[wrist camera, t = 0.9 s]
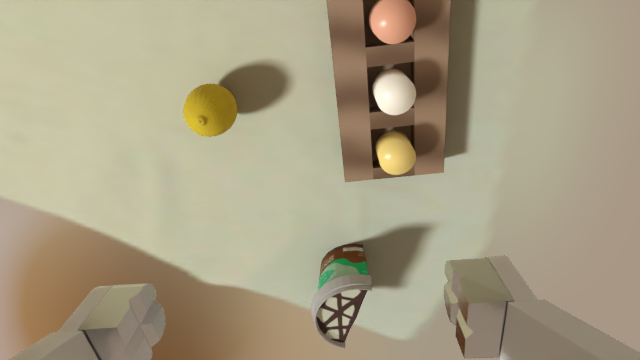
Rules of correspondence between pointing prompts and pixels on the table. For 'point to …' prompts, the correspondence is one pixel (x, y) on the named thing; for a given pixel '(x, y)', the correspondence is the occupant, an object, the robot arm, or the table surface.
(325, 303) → the food container
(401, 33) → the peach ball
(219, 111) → the lemon
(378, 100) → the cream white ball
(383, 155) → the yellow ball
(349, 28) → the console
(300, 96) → the table surface
